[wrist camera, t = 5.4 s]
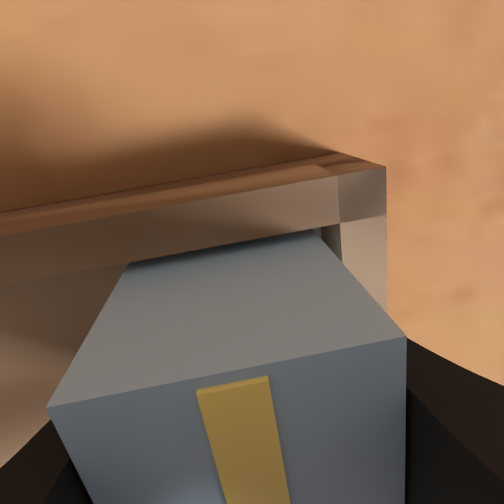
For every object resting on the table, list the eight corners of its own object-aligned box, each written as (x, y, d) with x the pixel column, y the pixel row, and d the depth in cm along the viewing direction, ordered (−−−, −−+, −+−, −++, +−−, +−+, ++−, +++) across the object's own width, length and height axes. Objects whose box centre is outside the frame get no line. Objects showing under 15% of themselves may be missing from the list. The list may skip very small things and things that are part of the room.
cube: (326, 373, 11) (406, 556, 7) (173, 404, 11) (144, 614, 6) (312, 228, 10) (410, 340, 5) (128, 262, 9) (42, 413, 5)
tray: (357, 452, 17) (389, 526, 14) (62, 514, 16) (28, 606, 13) (340, 152, 11) (386, 166, 8) (-103, 230, 11) (-223, 275, 8)
